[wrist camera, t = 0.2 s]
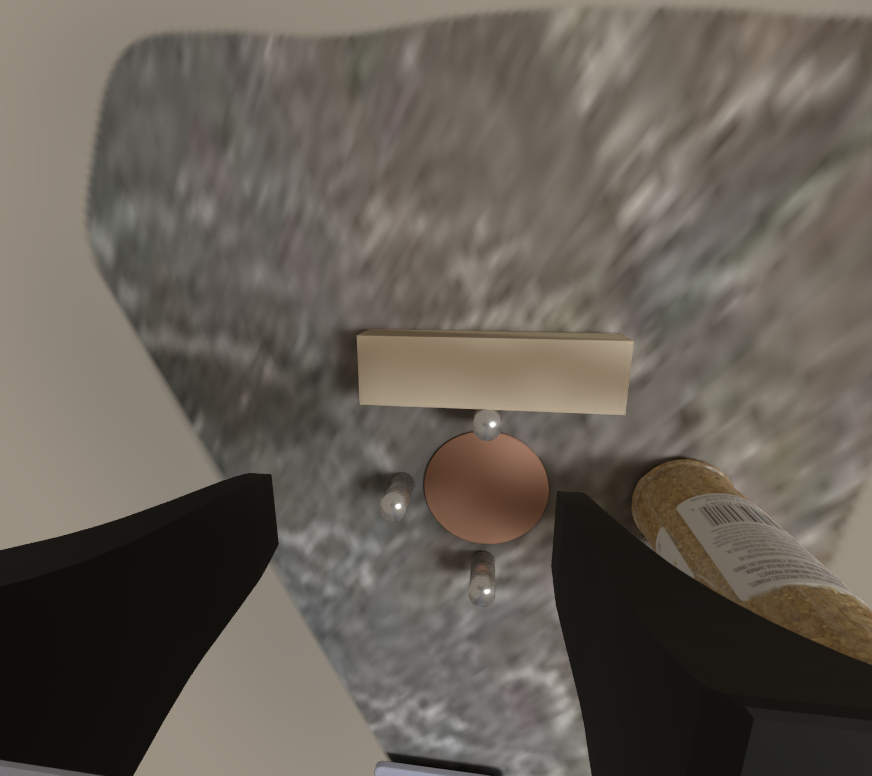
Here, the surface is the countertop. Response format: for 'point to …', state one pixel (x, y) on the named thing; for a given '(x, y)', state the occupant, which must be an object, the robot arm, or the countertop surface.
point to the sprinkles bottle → (747, 556)
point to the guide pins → (400, 492)
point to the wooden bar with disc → (492, 390)
